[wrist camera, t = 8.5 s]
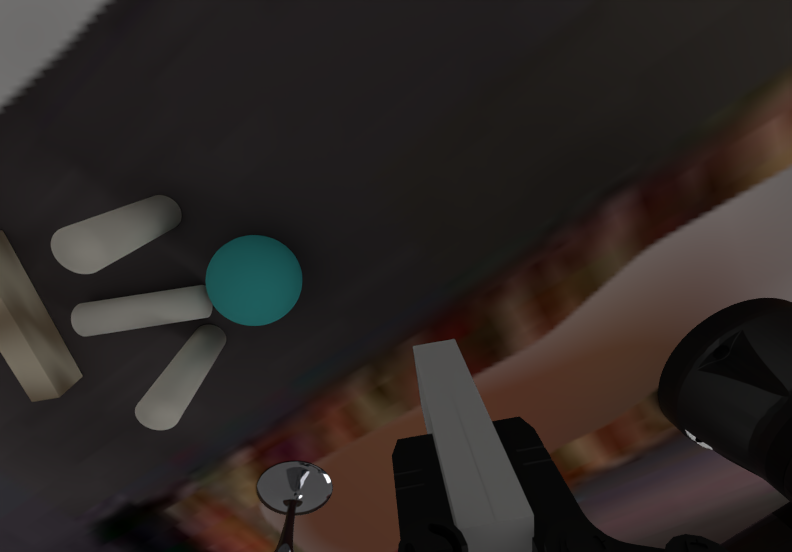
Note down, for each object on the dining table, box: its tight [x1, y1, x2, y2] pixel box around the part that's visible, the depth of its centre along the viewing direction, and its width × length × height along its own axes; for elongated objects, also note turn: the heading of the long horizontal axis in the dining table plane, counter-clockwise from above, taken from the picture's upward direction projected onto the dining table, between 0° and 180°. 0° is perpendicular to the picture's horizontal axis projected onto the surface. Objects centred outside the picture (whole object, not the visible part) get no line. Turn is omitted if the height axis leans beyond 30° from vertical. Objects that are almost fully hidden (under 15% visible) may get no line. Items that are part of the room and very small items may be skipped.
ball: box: [206, 235, 302, 326], centre depth 25 cm, size 6×6×6 cm
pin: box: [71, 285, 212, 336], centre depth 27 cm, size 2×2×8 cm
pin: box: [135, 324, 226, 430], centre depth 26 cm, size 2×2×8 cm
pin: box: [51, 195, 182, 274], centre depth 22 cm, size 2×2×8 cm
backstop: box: [0, 230, 83, 402], centre depth 27 cm, size 12×2×2 cm, turn 8°
